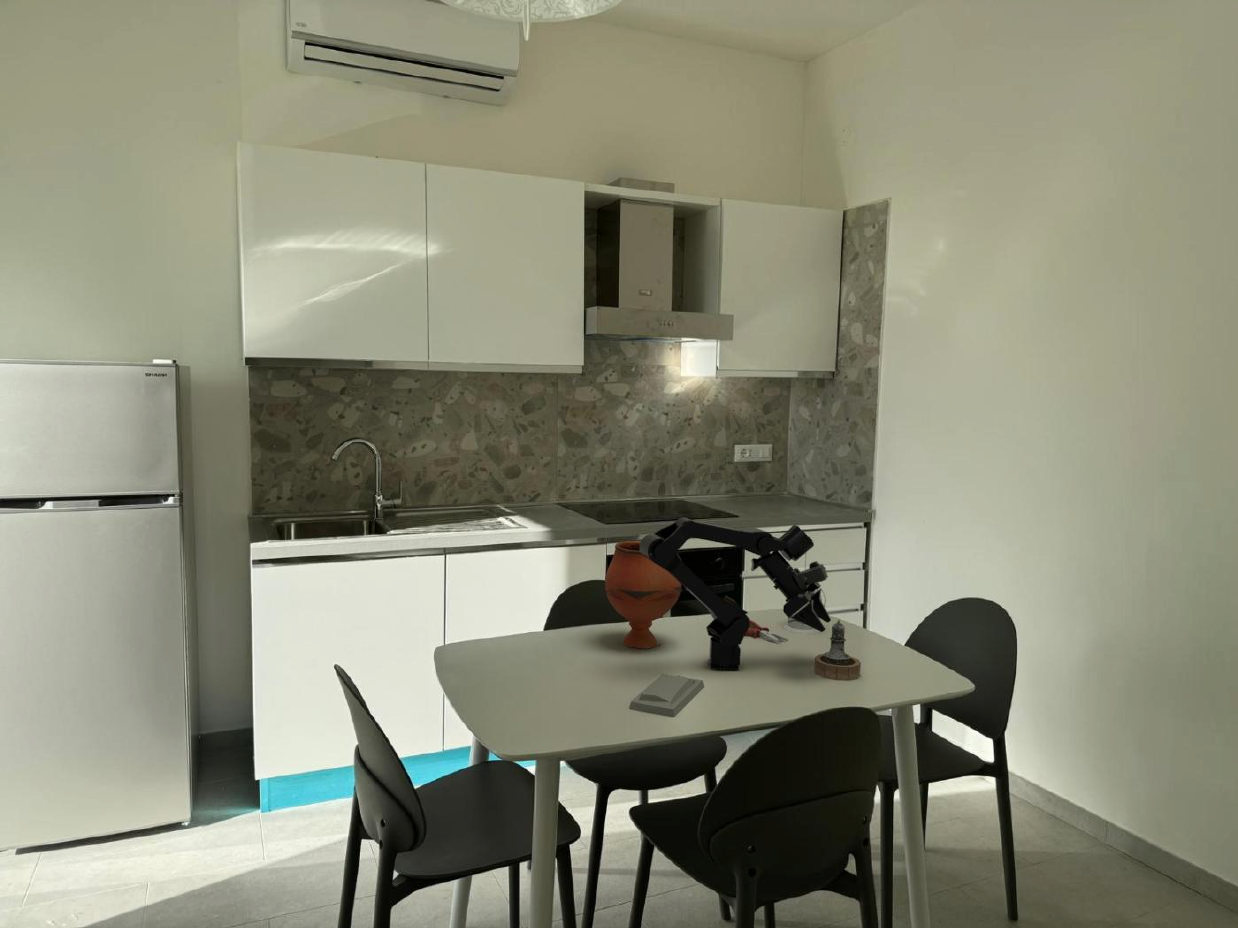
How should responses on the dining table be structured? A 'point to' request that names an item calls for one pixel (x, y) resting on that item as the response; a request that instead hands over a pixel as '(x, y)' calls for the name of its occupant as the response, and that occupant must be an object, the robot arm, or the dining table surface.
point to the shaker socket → (837, 669)
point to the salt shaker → (837, 646)
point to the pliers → (763, 633)
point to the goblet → (639, 592)
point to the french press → (799, 626)
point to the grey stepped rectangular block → (667, 695)
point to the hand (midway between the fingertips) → (826, 626)
